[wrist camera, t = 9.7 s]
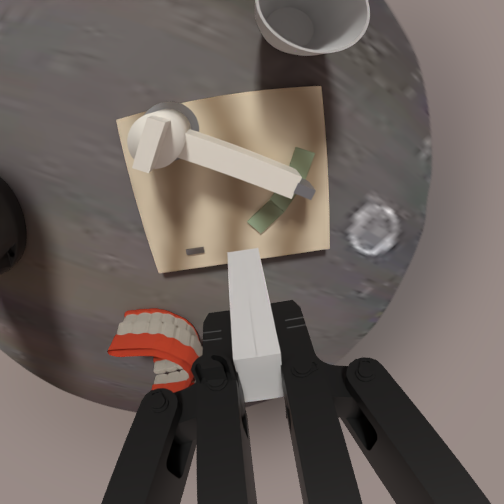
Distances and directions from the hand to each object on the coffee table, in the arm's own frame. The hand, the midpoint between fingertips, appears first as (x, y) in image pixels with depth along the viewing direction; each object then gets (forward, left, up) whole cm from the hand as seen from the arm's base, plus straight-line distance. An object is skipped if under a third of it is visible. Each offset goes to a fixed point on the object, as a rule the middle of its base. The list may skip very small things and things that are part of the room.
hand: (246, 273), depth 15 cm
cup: (+7, +15, -18) cm, 25 cm away
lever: (-1, +3, -16) cm, 16 cm away
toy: (-13, -21, -18) cm, 31 cm away
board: (-1, -1, -18) cm, 18 cm away
